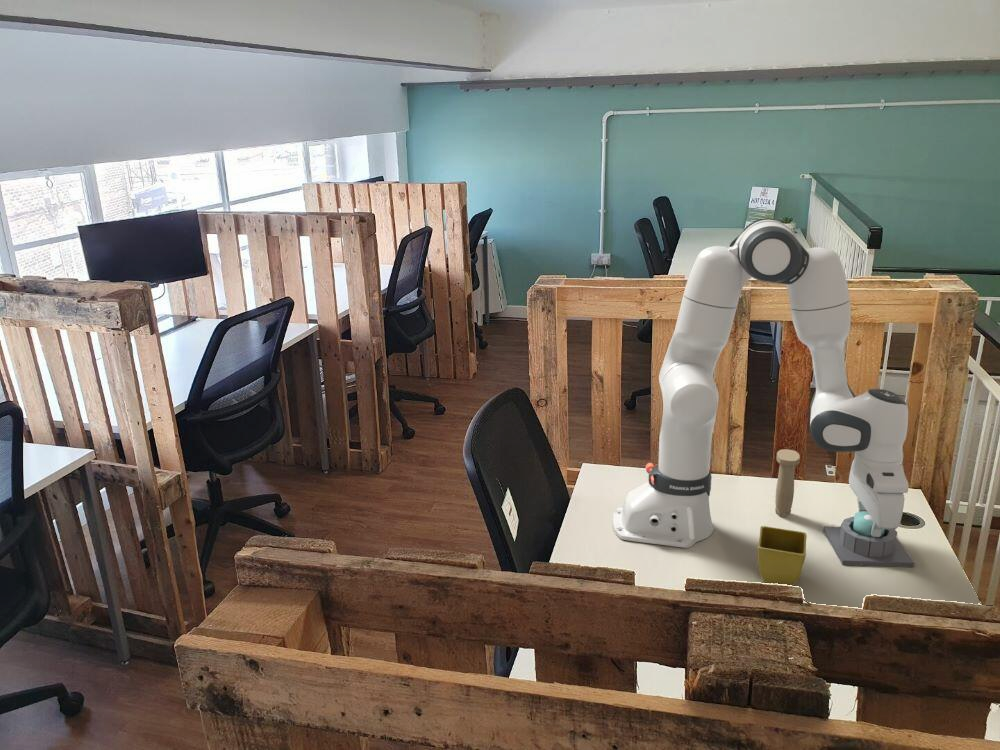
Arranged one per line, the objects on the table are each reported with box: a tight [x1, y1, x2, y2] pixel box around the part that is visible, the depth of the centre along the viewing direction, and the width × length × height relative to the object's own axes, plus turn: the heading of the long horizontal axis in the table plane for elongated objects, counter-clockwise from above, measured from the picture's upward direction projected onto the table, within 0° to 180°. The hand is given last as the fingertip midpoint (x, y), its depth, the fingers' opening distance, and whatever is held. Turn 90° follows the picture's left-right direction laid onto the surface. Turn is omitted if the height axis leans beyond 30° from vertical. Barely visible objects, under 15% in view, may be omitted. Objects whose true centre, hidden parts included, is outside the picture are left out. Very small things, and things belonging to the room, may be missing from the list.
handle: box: [774, 449, 801, 518], centre depth 177 cm, size 5×6×15 cm
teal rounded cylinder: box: [853, 511, 885, 538], centre depth 163 cm, size 6×6×4 cm
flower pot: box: [757, 525, 807, 586], centre depth 153 cm, size 9×9×9 cm
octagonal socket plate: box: [822, 515, 916, 568], centre depth 163 cm, size 14×14×5 cm
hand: (868, 526), depth 163 cm, fingers closed on teal rounded cylinder, 6 cm apart
